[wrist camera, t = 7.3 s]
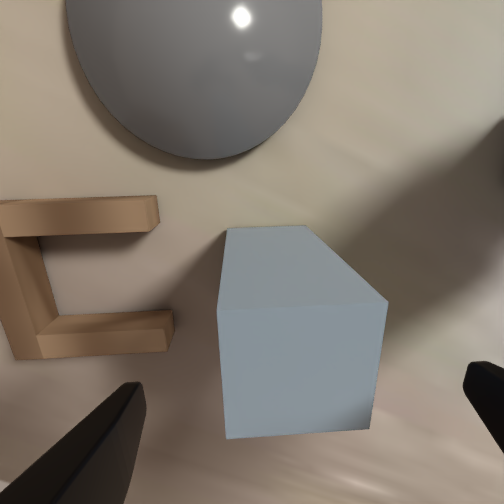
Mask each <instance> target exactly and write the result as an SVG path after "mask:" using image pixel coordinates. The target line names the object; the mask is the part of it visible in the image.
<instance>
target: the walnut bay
mask: <svg viewBox="0 0 504 504" xmlns="http://www.w3.org/2000/svg"><path fill="white" fill-rule="evenodd" d="M159 223H160V218H159V211H158V203H157V196H156V195H150V196H120V197H90V198H60V199H29V200H0V319H1V322H2V324H3V327H4V330H5V333H6V335H7V338H8V341H9V344H10V346H11V349H12V352H13V354H14V357H15V360H29V359H46V358H63V357H80V356H98V355H115V354H132V353H149V352H166V351H168V348H169V345H170V343H171V340H172V337H173V334H174V332H175V328H174V321H173V313H172V310H161V311H141V312H122V313H103V314H83V315H64V316H59V314H58V311H57V307H56V304H55V300H54V297H53V293H52V290H51V286H50V283H49V279H48V276H47V272H46V269H45V265H44V262H43V259H42V255H41V252H40V248H39V245H38V241H37V238H36V236H46V235H71V234H97V233H123V232H148V231H150V230H152V229H153V228H154V227H155V226H157V225H158V224H159Z"/></svg>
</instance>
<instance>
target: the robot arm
mask: <svg viewBox="0 0 504 504" xmlns="http://www.w3.org/2000/svg"><path fill="white" fill-rule="evenodd" d="M463 390H464V393H465V395H466V397H467V398H468V400H469V401H470V403H471V404H472V406H473V407H474V409H475V410H476V412H477V413H478V415H479V417H480V418H481V420H482V421H483V423H484V424H485V426H486V427H487V429H488V430H489V432H490V434H491V435H492V437H493V438H494V440H495V441H496V443H497V444H498V446H499V447H500V449H501V450H502V452H503V453H504V368H502V367H499V366H497V365H495V364H493V363H490V362H487V361H476V362H471V363H470V364H469V365H468V367H467V371H466V374H465V378H464V382H463ZM145 416H146V401H145V396H144V391H143V386H142V384H141V383H140V382H127V383H124V384H123V385H121V386H120V387H119V388H118V389H117V390H116V391H115V392H113V393H112V394H111V395H110V396H109V397H108V398H107V399H106V400H104V401H103V402H102V403H101V404H100V405H99V406H98V407H97V408H95V409H94V410H93V411H92V412H91V413H90V414H89V415H88V416H86V417H85V418H84V419H83V420H82V421H81V422H80V423H78V424H77V425H76V426H75V427H74V428H73V429H72V430H71V431H69V432H68V433H67V434H66V435H65V436H64V437H63V438H62V439H60V440H59V441H58V442H57V443H56V444H55V445H54V446H52V447H51V448H50V449H49V450H48V451H47V452H46V453H45V454H43V455H42V456H41V457H40V458H39V459H38V460H37V461H36V462H34V463H33V464H32V465H31V466H30V467H29V468H28V469H26V470H25V471H24V472H23V473H22V474H21V475H20V476H19V477H17V478H16V479H15V480H14V481H13V482H12V483H11V484H10V485H8V486H7V487H6V488H5V489H4V490H3V491H2V492H0V504H123V503H124V500H125V497H126V494H127V491H128V488H129V484H130V481H131V477H132V473H133V469H134V464H135V460H136V456H137V451H138V447H139V443H140V438H141V434H142V429H143V425H144V421H145Z"/></svg>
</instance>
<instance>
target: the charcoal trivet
mask: <svg viewBox="0 0 504 504" xmlns="http://www.w3.org/2000/svg"><path fill="white" fill-rule="evenodd" d="M66 11H67V18H68V25H69V30H70V34H71V38H72V42H73V46H74V49H75V51H76V54H77V57H78V60H79V62H80V65H81V67H82V69H83V71H84V73H85V75H86V77H87V79H88V81H89V83H90V85H91V87H92V88H93V90H94V91H95V93H96V94H97V96H98V98H99V99H100V100H101V102H102V103H103V104H104V105H105V107H106V108H107V109H108V110H109V112H110V113H111V114H112V115H113V116H114V117H115V118H116V119H117V120H118V121H119V122H120V123H121V124H122V125H123V126H124V127H125V128H127V129H128V130H129V131H130V132H132V133H133V134H134V135H135V136H137V137H138V138H140V139H141V140H143V141H145V142H146V143H148V144H149V145H151V146H154V147H156V148H158V149H160V150H162V151H164V152H167V153H171V154H174V155H177V156H181V157H187V158H192V159H218V158H225V157H229V156H233V155H237V154H240V153H242V152H245V151H247V150H250V149H251V148H253V147H255V146H257V145H258V144H260V143H262V142H263V141H265V140H266V139H267V138H269V137H270V136H271V135H273V134H274V133H275V132H276V131H277V130H278V129H279V128H280V127H281V126H282V125H283V124H284V123H285V122H286V121H287V120H288V118H289V117H290V116H291V115H292V113H293V112H294V111H295V109H296V108H297V106H298V104H299V103H300V101H301V99H302V98H303V96H304V94H305V92H306V90H307V88H308V85H309V83H310V81H311V78H312V75H313V72H314V69H315V66H316V63H317V59H318V54H319V49H320V43H321V33H322V1H321V0H66Z"/></svg>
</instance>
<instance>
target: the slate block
mask: <svg viewBox="0 0 504 504" xmlns="http://www.w3.org/2000/svg"><path fill="white" fill-rule="evenodd" d="M387 309H388V301H387V300H386V299H385V298H384V297H383V296H381V295H380V294H379V293H378V292H377V291H376V290H375V289H374V288H373V287H372V286H371V285H370V284H368V283H367V282H366V281H365V280H364V279H363V278H362V277H361V276H360V275H359V274H358V273H357V272H355V271H354V270H353V269H352V268H351V267H350V266H349V265H348V264H347V263H346V262H345V261H344V260H343V259H341V258H340V257H339V256H338V255H337V254H336V253H335V252H334V251H333V250H332V249H331V248H330V247H328V246H327V245H326V244H325V243H324V242H323V241H322V240H321V239H320V238H319V237H318V236H317V235H315V234H314V233H313V232H312V231H311V230H310V229H309V228H308V227H307V226H306V225H304V226H276V227H249V228H227V235H226V242H225V250H224V258H223V265H222V273H221V281H220V288H219V296H218V304H217V323H218V336H219V350H220V363H221V377H222V390H223V404H224V417H225V431H226V439H236V438H250V437H264V436H278V435H292V434H306V433H321V432H335V431H349V430H363V429H369V427H370V421H371V414H372V408H373V401H374V394H375V388H376V381H377V375H378V368H379V362H380V355H381V348H382V342H383V335H384V329H385V322H386V316H387Z"/></svg>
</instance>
